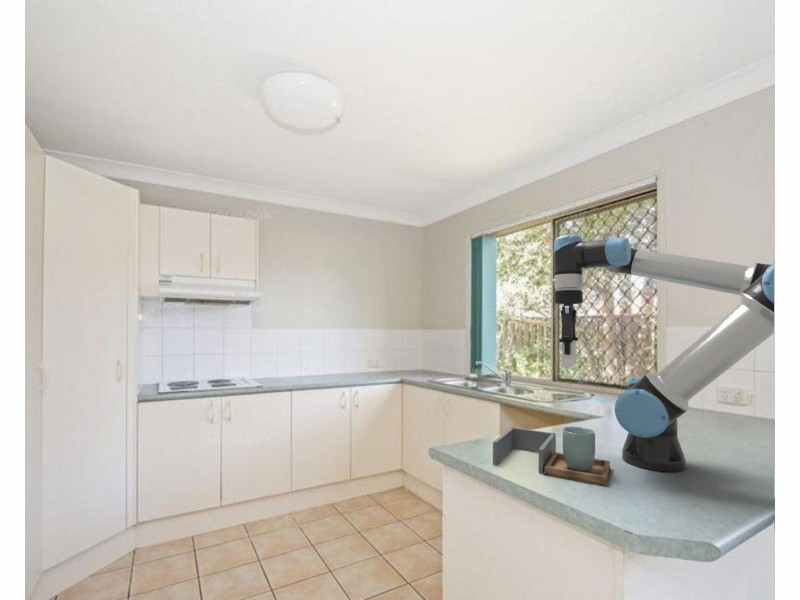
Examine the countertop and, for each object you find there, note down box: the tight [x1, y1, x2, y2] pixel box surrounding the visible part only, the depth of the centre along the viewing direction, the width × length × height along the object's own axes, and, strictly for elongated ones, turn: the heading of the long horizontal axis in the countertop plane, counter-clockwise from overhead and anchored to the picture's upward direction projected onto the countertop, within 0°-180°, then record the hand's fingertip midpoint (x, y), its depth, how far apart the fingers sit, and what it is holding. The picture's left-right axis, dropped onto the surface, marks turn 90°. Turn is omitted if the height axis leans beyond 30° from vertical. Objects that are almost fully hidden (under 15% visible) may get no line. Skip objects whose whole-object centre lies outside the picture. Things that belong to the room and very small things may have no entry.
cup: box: [561, 426, 596, 472], centre depth 108 cm, size 8×8×10 cm
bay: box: [492, 426, 557, 475], centre depth 118 cm, size 13×18×6 cm
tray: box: [543, 452, 611, 487], centre depth 108 cm, size 14×14×2 cm
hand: (569, 364), depth 118 cm, fingers open, 13 cm apart
